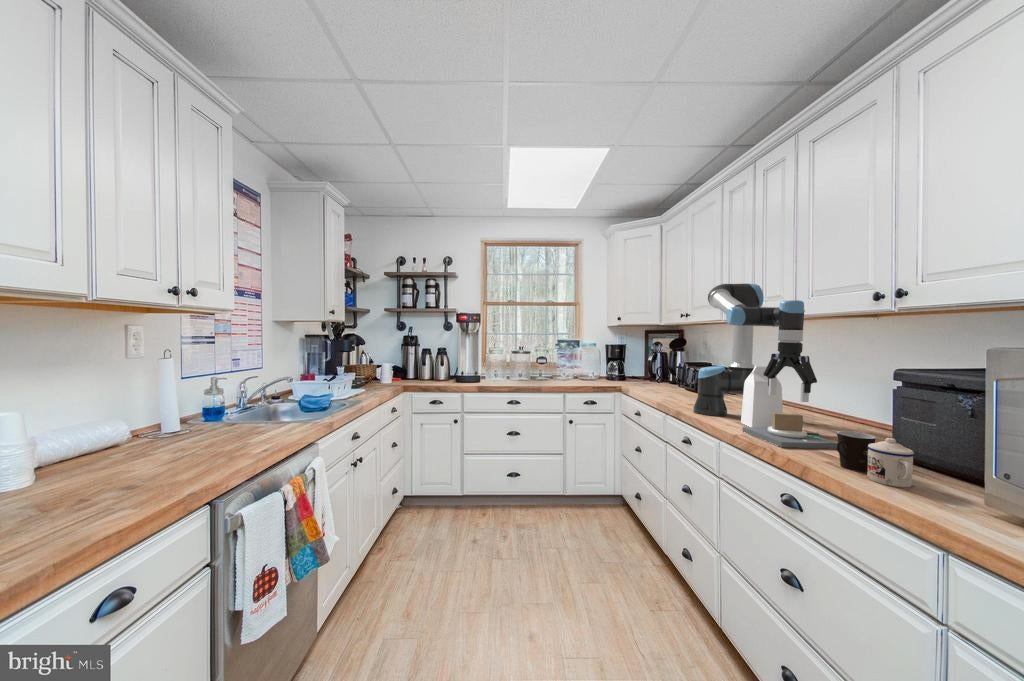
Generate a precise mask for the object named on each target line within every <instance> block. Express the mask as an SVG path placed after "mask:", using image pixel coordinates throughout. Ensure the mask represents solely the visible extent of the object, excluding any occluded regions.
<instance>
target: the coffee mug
mask: <svg viewBox="0 0 1024 681" xmlns="http://www.w3.org/2000/svg"><path fill="white" fill-rule="evenodd" d="M836 436H837V443H838V444H837V449H836V450H837V453H838V454H839V456H838V457H839V464H840V465H839V466H840V468H843V469H846V470H848V471H853V472H858V473H867V471H868V448H867V446H868V445H869V444H871V443H876V439H877V437H876V436H875V435H872V434H867V433H862V432H858V431H846V430H839V431H836Z"/></svg>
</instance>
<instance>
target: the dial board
mask: <svg viewBox="0 0 1024 681" xmlns="http://www.w3.org/2000/svg"><path fill="white" fill-rule="evenodd" d="M742 431H743V432H742V433H744V432H746V433H748V434H747V435H749V434H751V435H753V436H752V437H754V436H756V437H758V438H761V439H763V440H766V441H768V442H771V443H773V444H776V445H778V446H781V447H800V448H799V449H814V448H837V444H838V442H835V441H833V440H830V439H826V438H824V437H820V436H814V435H807V437H806V438H789V437H782V436H778V435H774V434H771V433H769V432H768V427H748V426H742ZM746 433H745V434H746ZM751 435H750V436H751ZM756 437H755V438H756ZM758 438H757V439H758ZM761 439H760V440H761ZM763 440H762V441H763ZM766 441H765V442H766ZM768 442H767V443H768ZM771 443H770V444H771ZM773 444H772V445H773ZM778 446H777V447H778Z"/></svg>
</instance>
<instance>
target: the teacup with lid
mask: <svg viewBox="0 0 1024 681" xmlns="http://www.w3.org/2000/svg"><path fill="white" fill-rule="evenodd" d="M867 448H868V471H867V472H866V473H867V478H868V479H869V480H870V481H872V482H875V483H878V484H880V485H884V486H885V485H886V486H888V487H889V486H890V487H895V488H911V487H913V474H914V469H913V468H914V467H913V466H914V456H915V452H914V451H913V450H912V449H910V448H907V447H905V446H903V445H902V444H900V443H897V440H896V439H895V438H891V437H886V438H885V441H884V440H883V441H878V442H875V443H871V444H869V445H868V446H867Z"/></svg>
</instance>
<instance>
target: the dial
mask: <svg viewBox="0 0 1024 681" xmlns="http://www.w3.org/2000/svg"><path fill="white" fill-rule="evenodd" d="M803 420H804V415H803V414H799V413H784V412H783V413H773V416H772V426H770V427H768V432H769V433H771V434H774V435H778V436H782V437H789V438H806V437H807V435H814V436H818V437H820V433H819V432H811V431H810V432H808V431H805V430H803V426H804V425H803Z"/></svg>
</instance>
